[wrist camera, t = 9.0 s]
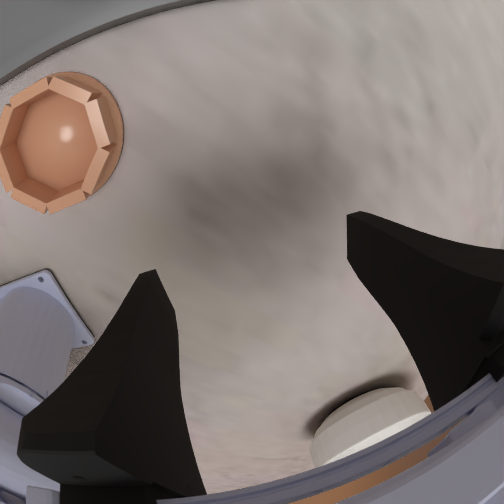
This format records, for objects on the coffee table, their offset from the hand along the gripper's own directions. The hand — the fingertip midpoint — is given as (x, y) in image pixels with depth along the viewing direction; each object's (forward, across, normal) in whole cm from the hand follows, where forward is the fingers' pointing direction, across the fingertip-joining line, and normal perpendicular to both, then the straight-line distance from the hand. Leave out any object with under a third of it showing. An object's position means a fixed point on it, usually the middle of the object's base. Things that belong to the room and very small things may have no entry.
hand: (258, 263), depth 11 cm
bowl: (+10, -12, +41) cm, 44 cm away
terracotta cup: (+9, +9, -6) cm, 14 cm away
